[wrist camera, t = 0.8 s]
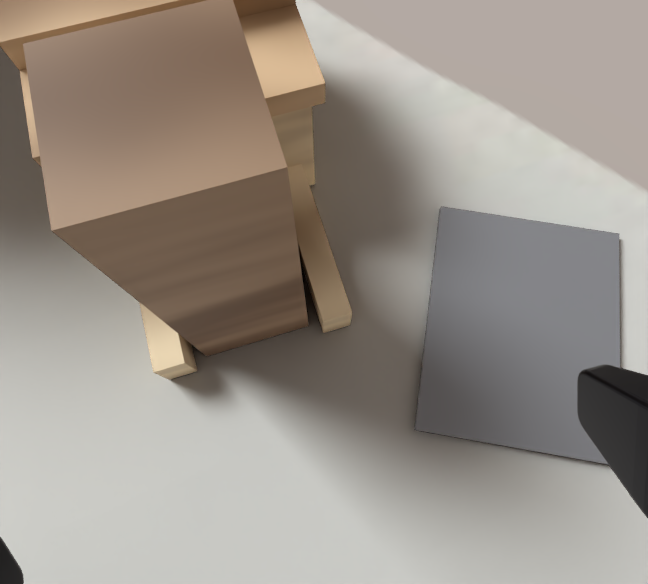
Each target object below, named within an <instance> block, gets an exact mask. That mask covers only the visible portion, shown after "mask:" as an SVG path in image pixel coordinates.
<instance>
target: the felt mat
mask: <svg viewBox="0 0 648 584" xmlns="http://www.w3.org/2000/svg"><path fill="white" fill-rule="evenodd" d="M602 364H608V365H612V366H615V367H619V368H620V282H619V234H618V233H611V232H605V231H598V230H592V229H585V228H579V227H572V226H566V225H559V224H553V223H546V222H540V221H533V220H526V219H520V218H513V217H507V216H500V215H494V214H487V213H481V212H474V211H468V210H461V209H455V208H448V207H441V208H440V211H439V220H438V228H437V237H436V246H435V255H434V263H433V272H432V281H431V290H430V298H429V307H428V316H427V324H426V333H425V342H424V351H423V359H422V368H421V377H420V386H419V394H418V403H417V412H416V421H415V429H414V430H418V431H423V432H429V433H434V434H440V435H446V436H451V437H457V438H462V439H468V440H474V441H479V442H485V443H490V444H496V445H502V446H507V447H513V448H518V449H524V450H530V451H535V452H541V453H546V454H552V455H558V456H563V457H569V458H574V459H580V460H586V461H591V462H597V463H602V464H608V463H607V462H606V460H605V459H604V457H603V456H602V454H601V453H600V452H599V450H598V449H597V447H596V446H595V445H594V443H593V442H592V440H591V439H590V437H589V436H588V435H587V433H586V432H585V430H584V429H583V427H582V425H581V423H580V421H579V418H578V413H577V380H578V375H579V373H580V372H581V371H582V370H584V369H587V368H591V367H595V366H598V365H602ZM608 465H609V464H608Z"/></svg>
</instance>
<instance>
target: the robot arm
mask: <svg viewBox="0 0 648 584" xmlns="http://www.w3.org/2000/svg"><path fill="white" fill-rule="evenodd" d="M577 413H578V418H579V421H580V423H581V425H582V427H583V429H584V430H585V432H586V433H587V435H588V436H589V437H590V439H591V440H592V442H593V443H594V445H595V446H596V447H597V449H598V450H599V452H600V453H601V454H602V456H603V457H604V459H605V460H606V462H607V463H608V464H609V466H610V467H611V469H612V470H613V471H614V473H615V474H616V476H617V477H618V479H619V480H620V481H621V483H622V484H623V486H624V487H625V488H626V490H627V491H628V493H629V494H630V496H631V497H632V498H633V500H634V501H635V502H636V504H637V505H638V506H639V508H640V509H641V510H642V512H643V513H644V514H645V515H646V517H647V518H648V375H644V374H641V373H637V372H634V371H630V370H626V369H623V368H619V367H615V366H612V365H608V364H602V365H598V366H595V367H591V368H587V369H584V370H582V371H581V372H580V373H579V375H578V380H577ZM23 583H24V580H23V574H22V570H21V568H20V566H19V565H18V563H17V562H16V560H15V559H14V557H13V555H12V554H11V552H10V551H9V549H8V548H7V546H6V544H5V543H4V541H3V540H2V538H1V537H0V584H23Z"/></svg>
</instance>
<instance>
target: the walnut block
mask: <svg viewBox="0 0 648 584" xmlns="http://www.w3.org/2000/svg"><path fill="white" fill-rule="evenodd" d="M23 48H24V54H25V61H26V68H27V74H28V81H29V87H30V94H31V100H32V107H33V114H34V120H35V127H36V133H37V140H38V147H39V153H40V160H41V166H42V173H43V179H44V186H45V193H46V199H47V206H48V212H49V219H50V225H51V231H52V232H53V233H55V234H56V235H57V236H58V237H60V238H61V239H62V240H63V241H65V242H66V243H67V244H68V245H70V246H71V247H72V248H73V249H74V250H76V251H77V252H78V253H79V254H81V255H82V256H83V257H84V258H86V259H87V260H88V261H89V262H91V263H92V264H93V265H94V266H95V267H97V268H98V269H99V270H100V271H102V272H103V273H104V274H105V275H107V276H108V277H109V278H110V279H112V280H113V281H114V282H115V283H116V284H118V285H119V286H120V287H121V288H123V289H124V290H125V291H126V292H128V293H129V294H130V295H131V296H133V297H134V298H135V299H136V300H137V301H139V302H140V303H141V304H142V305H144V306H145V307H146V308H147V309H149V310H150V311H151V312H152V313H154V314H155V315H156V316H157V317H158V318H160V319H161V320H162V321H163V322H165V323H166V324H167V325H168V326H170V327H171V328H172V329H173V330H175V331H176V332H177V333H178V334H180V335H181V336H182V337H183V338H184V339H186V340H187V341H188V342H189V343H191V344H192V345H193V346H194V347H196V348H197V349H198V350H199V351H201V352H202V353H203V354H204V355H205V356H210V355H213V354H217V353H220V352H223V351H227V350H230V349H233V348H237V347H240V346H243V345H247V344H250V343H253V342H257V341H260V340H263V339H267V338H270V337H273V336H277V335H280V334H283V333H287V332H290V331H293V330H297V329H300V328H303V327H307V326H309V324H308V316H307V309H306V301H305V294H304V286H303V279H302V272H301V264H300V257H299V249H298V242H297V234H296V227H295V219H294V212H293V204H292V197H291V190H290V182H289V175H288V167H287V164H286V161H285V158H284V155H283V152H282V149H281V146H280V143H279V140H278V137H277V133H276V130H275V127H274V124H273V121H272V118H271V115H270V112H269V109H268V106H267V103H266V100H265V97H264V94H263V91H262V88H261V84H260V81H259V78H258V75H257V72H256V69H255V66H254V63H253V60H252V57H251V54H250V51H249V48H248V45H247V42H246V39H245V35H244V32H243V29H242V26H241V23H240V20H239V17H238V14H237V11H236V8H235V5H234V2H233V0H206V1H202V2H198V3H194V4H189V5H185V6H181V7H177V8H172V9H168V10H164V11H160V12H155V13H151V14H147V15H143V16H138V17H134V18H130V19H126V20H121V21H117V22H113V23H109V24H104V25H100V26H96V27H92V28H87V29H83V30H79V31H75V32H70V33H66V34H62V35H58V36H53V37H49V38H45V39H41V40H36V41H32V42H28V43H24V44H23Z"/></svg>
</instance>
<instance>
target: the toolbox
mask: <svg viewBox="0 0 648 584" xmlns="http://www.w3.org/2000/svg"><path fill="white" fill-rule="evenodd" d="M202 1H206V0H0V47H1V48H2V49H3V50H4V52H5V53H6V54H7V55H8V57H9V58H10V59H11V60H12V62H13V63H14V64H15V65H16V67H17V68H18V69H19V70H20V77H21V84H22V91H23V98H24V105H25V111H26V118H27V125H28V132H29V139H30V145H31V152H32V158H33V159H34V160H35V161H36V162H37V163H38V164H39V165H40V166H41V160H40V153H39V147H38V140H37V133H36V127H35V120H34V114H33V107H32V100H31V94H30V87H29V81H28V74H27V68H26V61H25V54H24V48H23V44H24V43H28V42H32V41H36V40H41V39H45V38H49V37H53V36H58V35H62V34H66V33H70V32H75V31H79V30H83V29H87V28H92V27H96V26H100V25H104V24H109V23H113V22H117V21H121V20H126V19H130V18H134V17H138V16H143V15H147V14H151V13H155V12H160V11H164V10H168V9H172V8H177V7H181V6H185V5H189V4H194V3H198V2H202ZM233 2H234V5H235V8H236V11H237V14H238V17H239V20H240V23H241V26H242V29H243V32H244V35H245V39H246V42H247V45H248V48H249V51H250V54H251V57H252V60H253V63H254V66H255V69H256V72H257V75H258V78H259V81H260V84H261V88H262V91H263V94H264V97H265V100H266V103H267V106H268V109H269V112H270V115H271V118H272V121H273V124H274V127H275V130H276V133H277V137H278V140H279V143H280V146H281V149H282V152H283V155H284V158H285V161H286V164H287V167H288V175H289V182H290V190H291V197H292V204H293V212H294V219H295V227H296V234H297V242H298V249H299V257H300V261H301V264H302V267H303V270H304V273H305V277H306V280H307V283H308V286H309V289H310V293H311V296H312V299H313V302H314V305H315V308H316V312H317V315H318V318H319V321H320V324H321V327H322V331H323V333H326V332H329V331H332V330H336V329H339V328H342V327H346V326H349V325H350V323H351V317H352V310H351V307H350V304H349V301H348V298H347V295H346V292H345V289H344V286H343V283H342V281H341V278H340V275H339V272H338V269H337V266H336V263H335V260H334V257H333V254H332V251H331V248H330V245H329V242H328V239H327V236H326V233H325V230H324V227H323V224H322V221H321V218H320V215H319V212H318V209H317V206H316V204H315V201H314V198H313V195H312V192H311V189H310V185H314V184H315V167H314V142H313V117H312V106H315V105H319V104H323V103H325V81H324V78H323V76H322V73H321V70H320V68H319V65H318V62H317V60H316V57H315V54H314V52H313V49H312V46H311V44H310V41H309V38H308V36H307V33H306V30H305V28H304V25H303V22H302V20H301V17H300V14H299V12H298V9H297V6H296V2H295V0H233ZM41 167H42V166H41ZM139 303H140V302H139ZM140 308H141V313H142V318H143V323H144V328H145V333H146V338H147V343H148V348H149V353H150V358H151V363H152V368H153V372H154V373H156V374H158V375H160V376H162V377H165V378H167V379H169V380H170V379H173V378H177V377H180V376H183V375H187V374H190V373H193V372H196V371H197V367H196V362H195V358H194V354H193V349H192V345H191V343H189V342H188V341H187V340H186V339H184V338H183V337H182V336H181V335H180V334H178V333H177V332H176V331H175V330H173V329H172V328H171V327H170V326H168V325H167V324H166V323H165V322H163V321H162V320H161V319H160V318H158V317H157V316H156V315H155V314H154V313H152V312H151V311H150V310H149V309H147V308H146V307H145V306H144V305H142V304H141V303H140Z"/></svg>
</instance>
